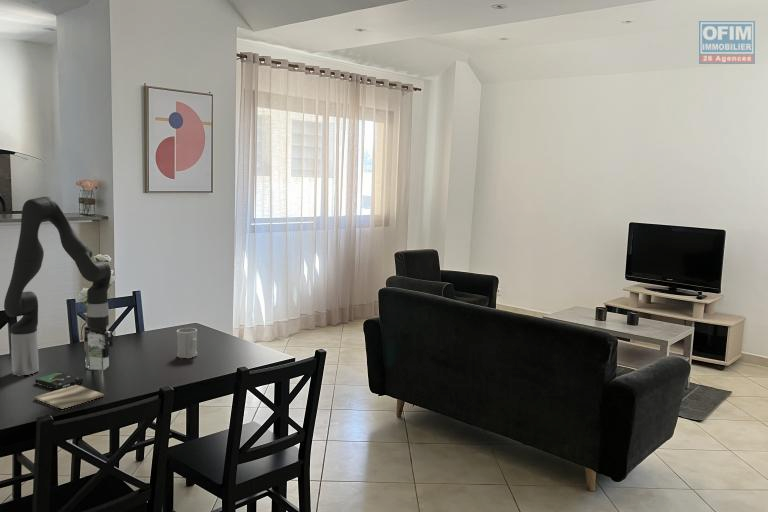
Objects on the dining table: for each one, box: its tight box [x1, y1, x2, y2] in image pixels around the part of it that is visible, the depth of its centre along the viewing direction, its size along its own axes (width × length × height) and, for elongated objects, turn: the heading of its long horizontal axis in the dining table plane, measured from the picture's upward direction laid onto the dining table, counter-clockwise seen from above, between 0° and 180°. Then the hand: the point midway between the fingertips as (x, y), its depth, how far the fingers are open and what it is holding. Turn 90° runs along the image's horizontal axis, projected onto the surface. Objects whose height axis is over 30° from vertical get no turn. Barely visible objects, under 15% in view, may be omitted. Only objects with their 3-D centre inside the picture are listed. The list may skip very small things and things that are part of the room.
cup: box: [176, 327, 198, 359], centre depth 280 cm, size 10×9×12 cm
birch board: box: [34, 385, 105, 409], centre depth 226 cm, size 17×16×1 cm
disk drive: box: [34, 371, 84, 390], centre depth 241 cm, size 10×3×15 cm
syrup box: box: [87, 330, 110, 371], centre depth 237 cm, size 6×6×14 cm
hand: (98, 355), depth 238 cm, fingers closed on syrup box, 8 cm apart
